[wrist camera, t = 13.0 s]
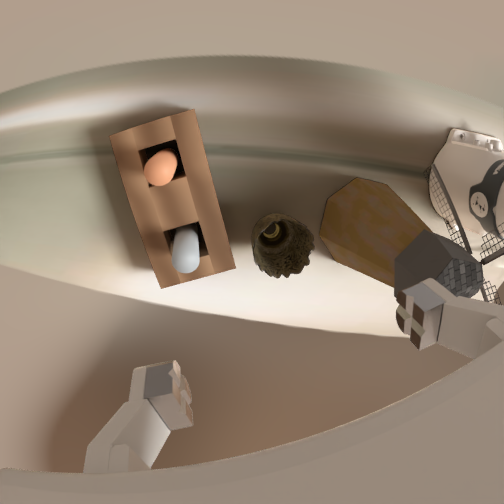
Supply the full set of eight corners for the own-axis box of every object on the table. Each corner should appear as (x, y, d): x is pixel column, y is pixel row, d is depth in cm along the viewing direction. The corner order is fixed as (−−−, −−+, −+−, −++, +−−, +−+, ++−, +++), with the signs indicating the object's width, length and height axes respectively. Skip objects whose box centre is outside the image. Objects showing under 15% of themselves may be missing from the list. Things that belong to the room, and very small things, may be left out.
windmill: (399, 269, 52) (517, 378, 25) (326, 294, 51) (426, 440, 24) (392, 146, 43) (567, 203, 16) (306, 163, 42) (475, 247, 15)
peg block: (194, 110, 37) (194, 108, 32) (231, 252, 45) (236, 268, 41) (118, 134, 36) (109, 135, 31) (163, 271, 44) (161, 288, 40)
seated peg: (194, 216, 42) (195, 244, 33) (200, 236, 43) (203, 269, 34) (172, 222, 42) (167, 251, 33) (179, 242, 43) (176, 276, 34)
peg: (175, 144, 38) (169, 151, 29) (181, 166, 39) (177, 181, 30) (152, 151, 38) (140, 161, 29) (158, 173, 39) (148, 189, 30)
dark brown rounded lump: (252, 196, 42) (265, 213, 35) (302, 209, 44) (323, 228, 37) (236, 247, 45) (246, 272, 38) (285, 257, 47) (302, 283, 40)
